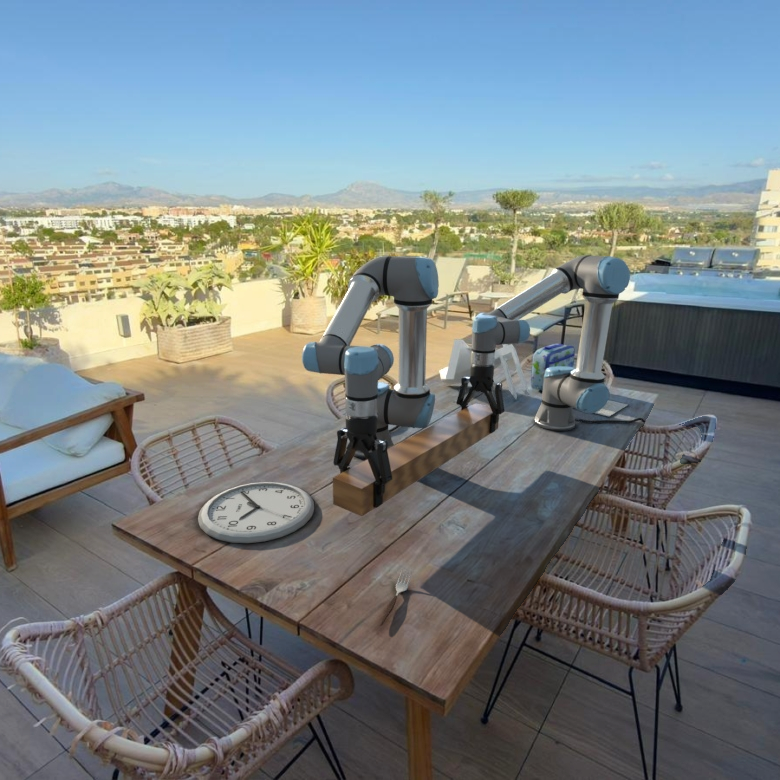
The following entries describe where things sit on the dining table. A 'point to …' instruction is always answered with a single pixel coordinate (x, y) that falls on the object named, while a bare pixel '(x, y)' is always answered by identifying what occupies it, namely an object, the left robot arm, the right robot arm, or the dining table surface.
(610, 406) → the invitation card
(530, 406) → the dining table surface
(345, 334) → the left robot arm
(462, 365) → the white plastic object
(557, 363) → the lunch box
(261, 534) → the wall clock
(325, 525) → the dining table surface
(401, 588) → the fork
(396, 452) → the wide beam
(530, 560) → the dining table surface
